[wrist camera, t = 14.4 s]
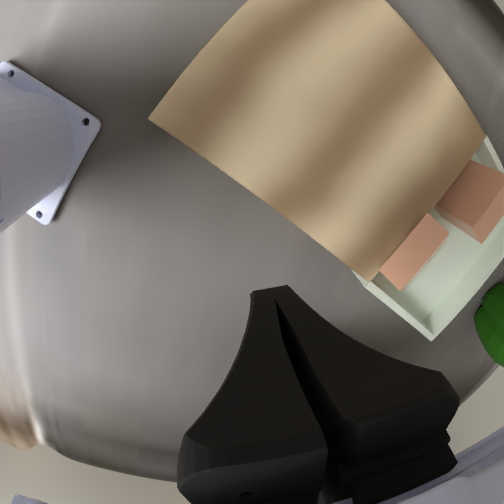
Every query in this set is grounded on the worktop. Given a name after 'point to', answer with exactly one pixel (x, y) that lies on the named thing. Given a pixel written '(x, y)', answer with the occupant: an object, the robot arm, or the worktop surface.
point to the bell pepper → (492, 323)
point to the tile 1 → (415, 252)
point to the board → (327, 120)
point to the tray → (446, 270)
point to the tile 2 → (474, 200)
